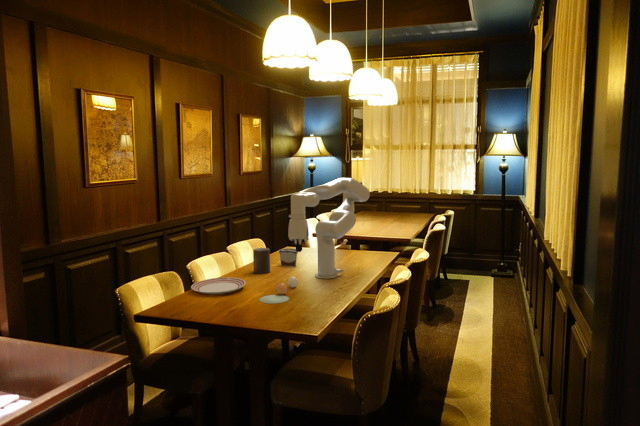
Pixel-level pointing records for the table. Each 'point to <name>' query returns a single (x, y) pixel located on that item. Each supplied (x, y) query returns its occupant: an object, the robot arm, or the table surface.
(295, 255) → the food container
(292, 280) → the cue ball
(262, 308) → the table surface
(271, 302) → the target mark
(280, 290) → the object ball
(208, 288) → the dinner plate
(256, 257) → the pillar candle
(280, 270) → the table surface
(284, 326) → the table surface
